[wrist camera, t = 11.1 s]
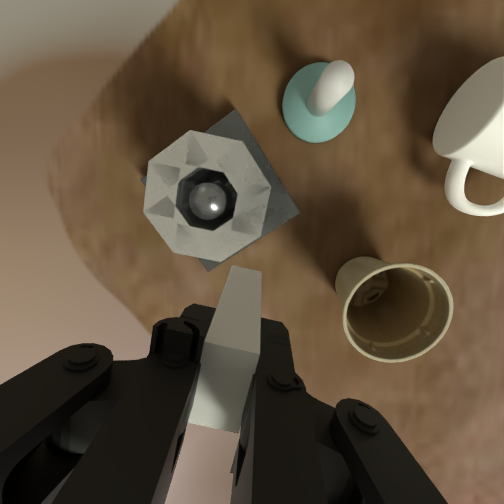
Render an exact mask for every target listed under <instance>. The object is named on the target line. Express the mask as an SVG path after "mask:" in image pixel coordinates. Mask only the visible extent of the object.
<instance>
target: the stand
mask: <svg viewBox="0 0 504 504" xmlns="http://www.w3.org/2000/svg"><path fill="white" fill-rule="evenodd" d="M353 83H354V72H353V69H352V67H351V66H350V65H349V64H348V63H347V62H345V61H342V60H337V61H333V62H331V63H325V62H318V63H313V64H309V65H307V66H305V67H303V68H302V69H300V70H299V71H298V72H297V73H296V74H295V75H294V76H293V77H292V79H291V80H290V81H289V83H288V85H287V87H286V90H285V93H284V97H283V102H282V114H283V118H284V121H285V124H286V126H287V128H288V129H289V130H290V132H291V133H292V134H293V135H294V136H295V137H297V138H298V139H300V140H302V141H304V142H308V143H322V142H325V141H328V140H330V139H332V138H333V137H335V136H337V135H338V134H339V133H341V132H342V131H343V130H344V129H345V127H346V126H347V125H348V123H349V122H350V120H351V118H352V115H353V112H354V108H355V90H354V87H353Z"/></svg>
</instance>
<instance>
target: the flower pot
mask: <svg viewBox="0 0 504 504" xmlns="http://www.w3.org/2000/svg"><path fill="white" fill-rule="evenodd" d="M379 272H381V274H380V273H379ZM363 282H364V284H363V285H362V283H363ZM335 288H336V292H337V294H338V297H339V299H340V302H341V305H342V308H343V311H342V322H343V328H344V331H345V334H346V336H347V338H348V340H349V341H350V343H351V344H352V345H353V346H354V347H355V348H356V349H357V350H358V351H359V352H360V353H361V354H363V355H365V356H366V357H369V358H371V359H374V360H377V361H381V362H392V363H393V362H403V361H407V360H411V359H414V358H416V357H418V356H420V355H422V354H424V353H426V352H427V351H428V350H430V349H431V348H432V347H433V346H435V345H436V344H437V343H438V342H439V341H440V339H441V338H442V337H443V336H444V334H445V333H446V331H447V329H448V327H449V325H450V322H451V319H452V314H453V299H452V295H451V292H450V290H449V287H448V286H447V284H446V283H445V281H444V280H443V279H442V278H441V277H440V276H439V275H438V274H436V273H435V272H433V271H432V270H430V269H428V268H426V267H424V266H421V265H417V264H412V263H394V264H391V263H388V262H384V261H381V260H378V259H375V258H372V257H357V258H354V259H351V260H349V261H348V262H346V263H345V264H344V265H343V266H342V267H341V268H340V270H339V271H338V273H337V277H336V281H335ZM376 293H378V295H377V297H376V298H374V299H373V300H369V299H370V298H371V297H373V296H374V295H376Z"/></svg>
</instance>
